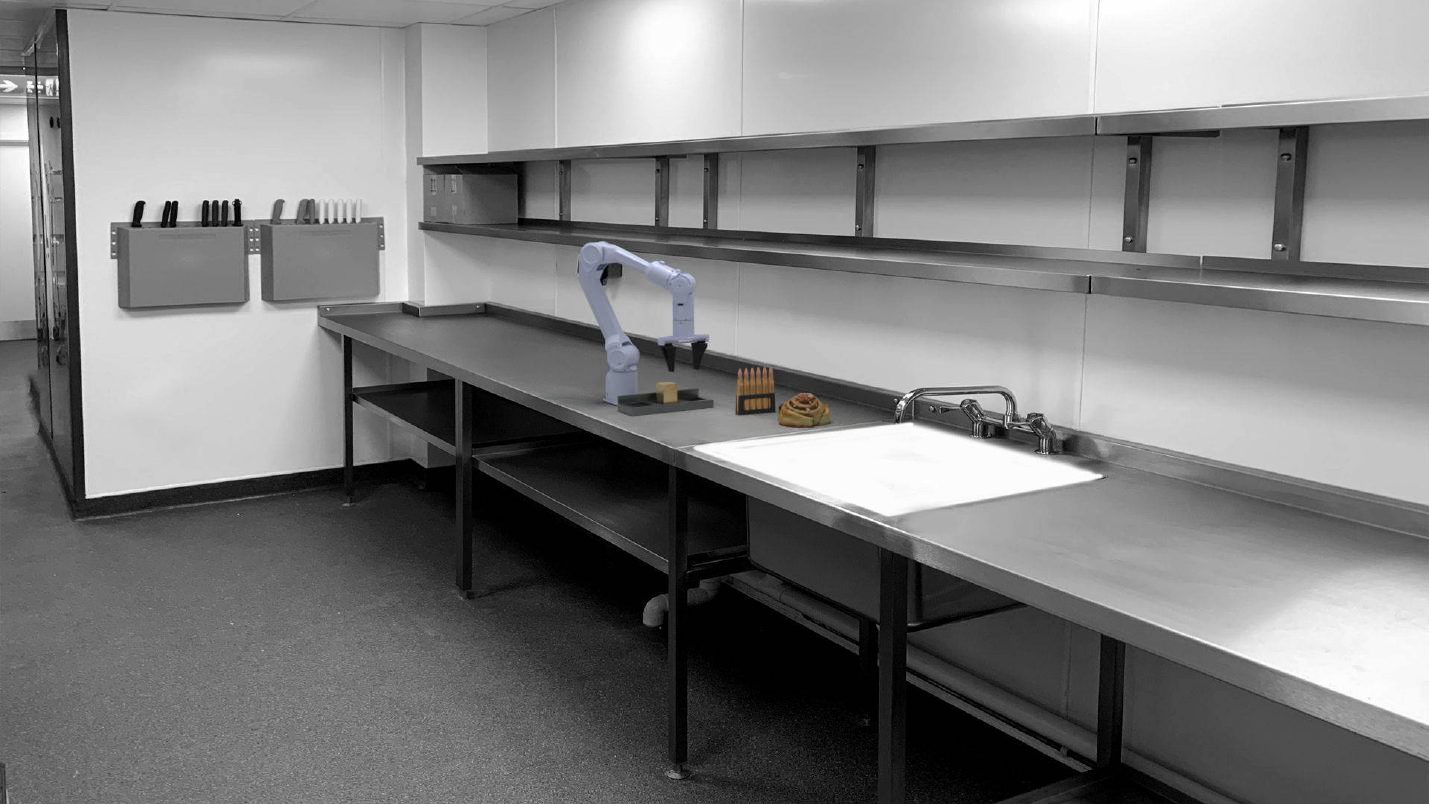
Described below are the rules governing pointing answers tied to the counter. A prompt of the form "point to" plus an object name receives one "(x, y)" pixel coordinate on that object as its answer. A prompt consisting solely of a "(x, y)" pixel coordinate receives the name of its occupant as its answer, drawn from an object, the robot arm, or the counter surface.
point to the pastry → (803, 412)
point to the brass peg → (666, 392)
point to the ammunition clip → (755, 393)
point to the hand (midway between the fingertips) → (683, 370)
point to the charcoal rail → (649, 405)
